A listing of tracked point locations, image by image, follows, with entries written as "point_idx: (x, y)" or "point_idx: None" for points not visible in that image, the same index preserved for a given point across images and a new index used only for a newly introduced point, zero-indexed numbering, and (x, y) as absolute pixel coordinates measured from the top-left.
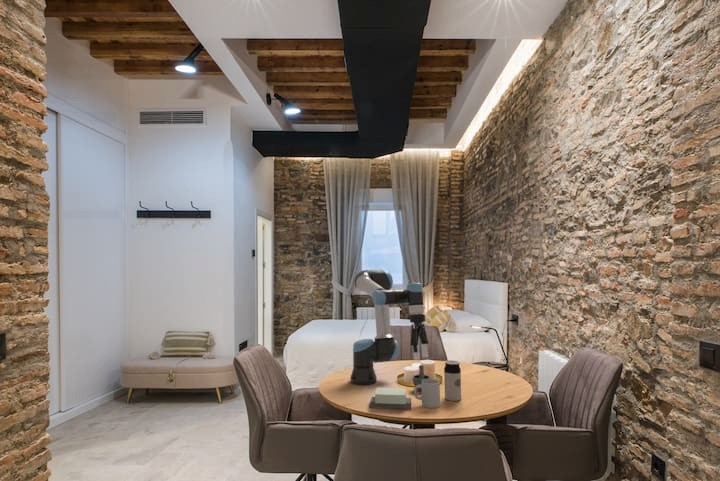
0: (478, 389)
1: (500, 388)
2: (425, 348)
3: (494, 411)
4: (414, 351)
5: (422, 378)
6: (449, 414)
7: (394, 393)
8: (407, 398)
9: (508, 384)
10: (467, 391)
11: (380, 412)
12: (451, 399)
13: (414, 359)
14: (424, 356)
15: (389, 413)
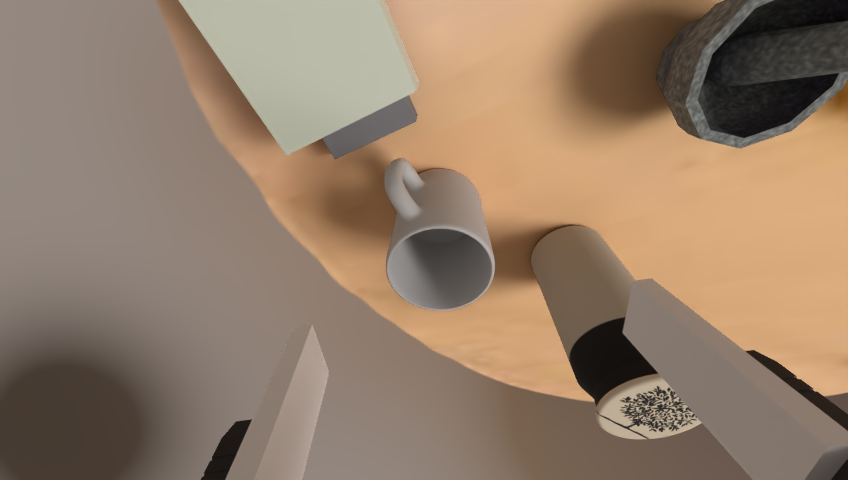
0: (739, 299)
1: (760, 352)
2: (713, 414)
3: (477, 370)
4: (229, 443)
5: (770, 71)
6: (377, 288)
7: (263, 74)
8: (394, 106)
9: (826, 364)
10: (699, 273)
11: (185, 26)
12: (531, 262)
13: (294, 335)
14: (635, 311)
15: (214, 82)
